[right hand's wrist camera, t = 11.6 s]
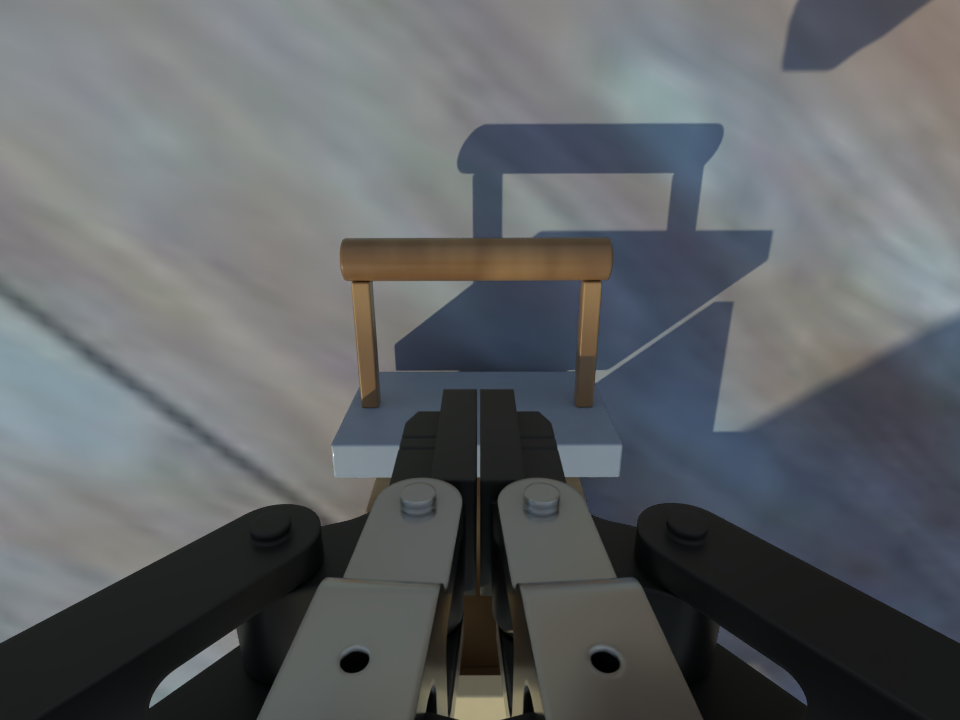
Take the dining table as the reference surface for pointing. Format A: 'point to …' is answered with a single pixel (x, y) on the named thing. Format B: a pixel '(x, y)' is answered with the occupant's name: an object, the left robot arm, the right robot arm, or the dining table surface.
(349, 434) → the drawer
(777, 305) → the dining table surface
